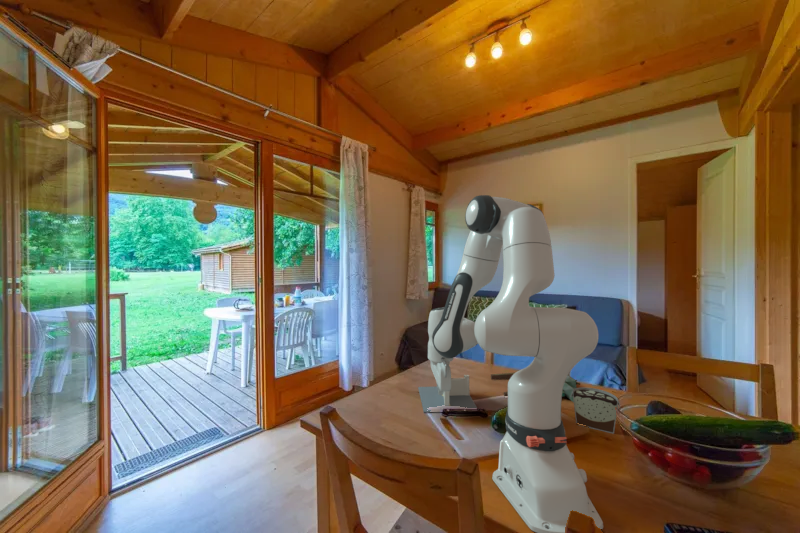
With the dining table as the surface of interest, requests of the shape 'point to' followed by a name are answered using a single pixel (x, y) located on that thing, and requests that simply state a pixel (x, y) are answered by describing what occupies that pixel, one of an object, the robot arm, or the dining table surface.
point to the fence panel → (446, 398)
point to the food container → (595, 408)
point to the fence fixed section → (459, 386)
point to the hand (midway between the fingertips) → (440, 393)
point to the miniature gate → (567, 390)
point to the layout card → (442, 399)
